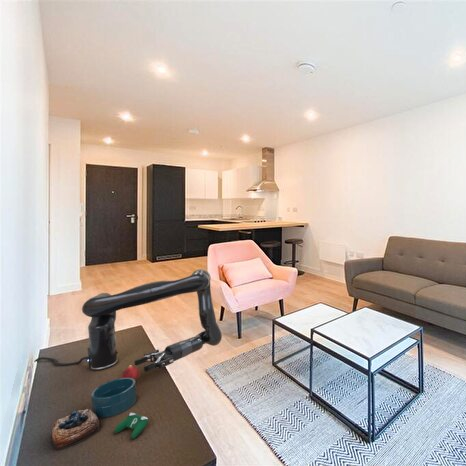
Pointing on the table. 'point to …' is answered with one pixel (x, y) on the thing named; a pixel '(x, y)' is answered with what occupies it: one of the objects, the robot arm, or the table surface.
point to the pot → (114, 397)
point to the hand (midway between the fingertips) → (139, 366)
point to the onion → (131, 373)
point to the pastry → (74, 428)
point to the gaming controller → (133, 424)
